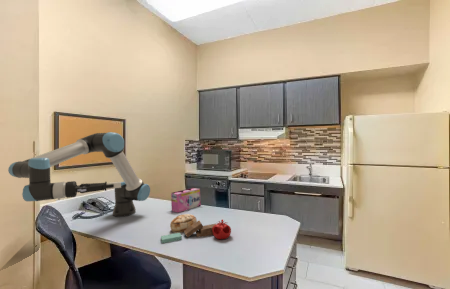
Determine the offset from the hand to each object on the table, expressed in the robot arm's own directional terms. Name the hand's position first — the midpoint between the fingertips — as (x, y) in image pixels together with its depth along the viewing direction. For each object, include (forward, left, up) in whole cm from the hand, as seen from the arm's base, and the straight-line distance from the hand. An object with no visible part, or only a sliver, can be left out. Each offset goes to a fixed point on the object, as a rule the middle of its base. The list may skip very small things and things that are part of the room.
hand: (120, 184), depth 117 cm
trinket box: (-4, +33, -30) cm, 45 cm away
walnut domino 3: (+9, +37, -30) cm, 48 cm away
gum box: (-43, +44, -30) cm, 69 cm away
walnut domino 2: (+9, +39, -27) cm, 48 cm away
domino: (+8, +18, -29) cm, 36 cm away
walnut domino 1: (+7, +31, -29) cm, 43 cm away
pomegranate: (+17, +48, -30) cm, 60 cm away
